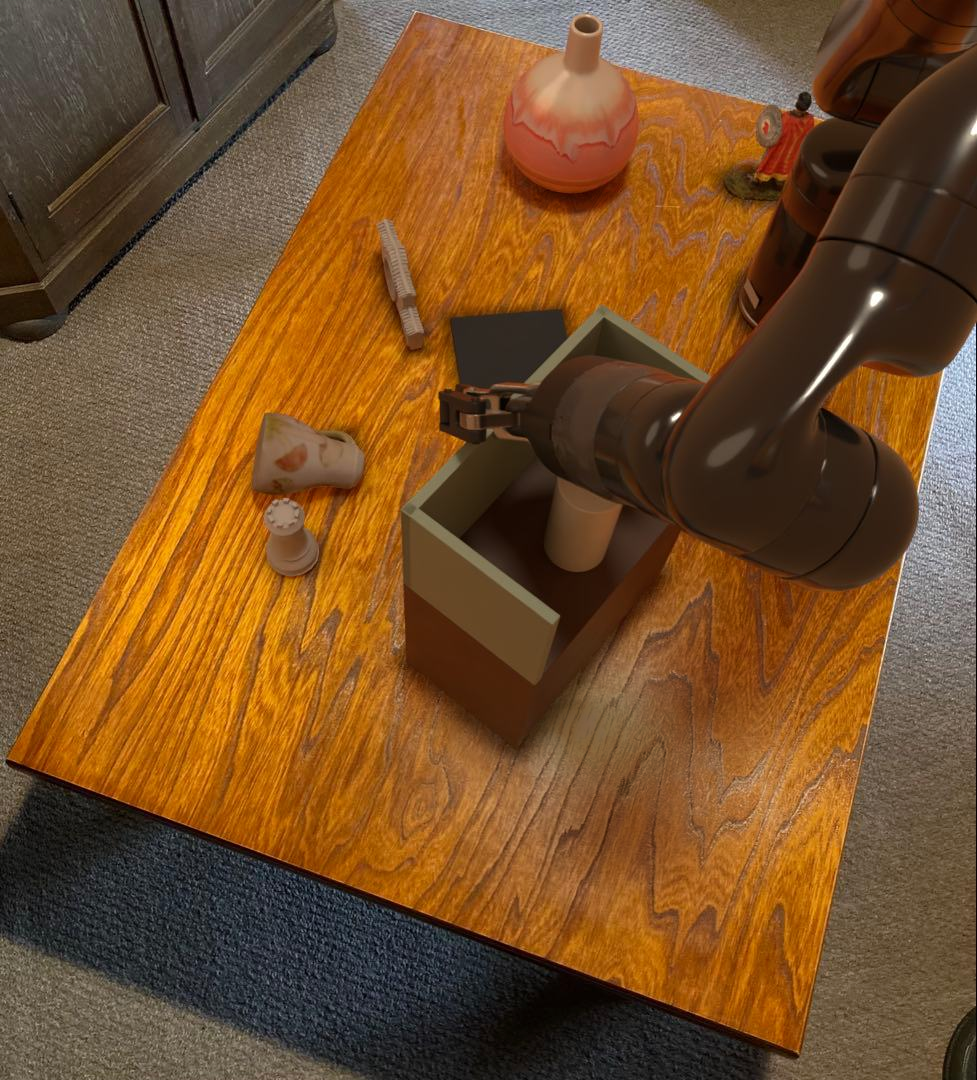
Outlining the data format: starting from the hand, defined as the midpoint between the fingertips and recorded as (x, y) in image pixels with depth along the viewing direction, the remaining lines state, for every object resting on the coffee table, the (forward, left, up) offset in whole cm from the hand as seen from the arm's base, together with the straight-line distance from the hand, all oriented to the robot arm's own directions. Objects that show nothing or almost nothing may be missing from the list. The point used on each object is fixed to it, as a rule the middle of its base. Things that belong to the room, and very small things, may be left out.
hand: (518, 396), depth 74 cm
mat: (-4, -19, -22) cm, 29 cm away
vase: (-13, -43, -23) cm, 50 cm away
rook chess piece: (+18, -1, -23) cm, 29 cm away
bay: (-2, +7, -22) cm, 24 cm away
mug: (+16, -9, -23) cm, 29 cm away
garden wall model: (+6, -27, -23) cm, 35 cm away
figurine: (-34, -39, -23) cm, 56 cm away
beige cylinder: (-3, +9, -6) cm, 11 cm away
